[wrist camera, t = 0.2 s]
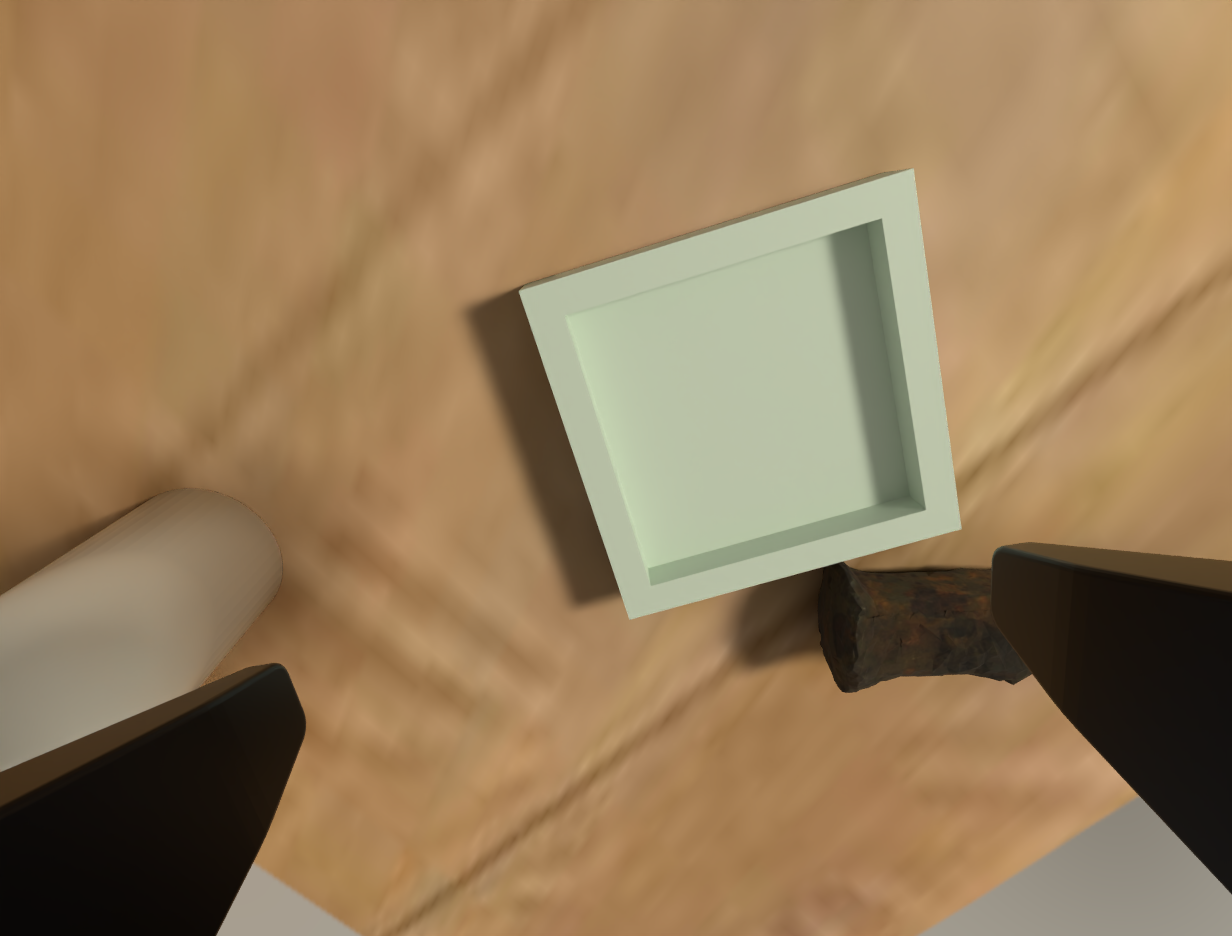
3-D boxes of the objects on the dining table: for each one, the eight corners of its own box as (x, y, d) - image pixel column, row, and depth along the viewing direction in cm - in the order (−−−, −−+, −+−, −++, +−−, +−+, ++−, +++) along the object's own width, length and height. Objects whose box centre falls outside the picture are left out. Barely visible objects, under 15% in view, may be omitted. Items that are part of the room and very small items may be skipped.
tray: (525, 284, 21) (518, 291, 19) (883, 172, 20) (913, 168, 18) (626, 588, 25) (629, 619, 23) (932, 504, 24) (961, 528, 22)
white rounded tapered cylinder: (96, 512, 23) (-420, 822, 11) (239, 469, 23) (-139, 742, 11) (174, 639, 25) (-202, 1020, 13) (308, 601, 24) (46, 958, 13)
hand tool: (802, 639, 26) (844, 726, 22) (816, 543, 25) (865, 616, 20) (1283, 643, 27) (1417, 727, 23) (1324, 551, 25) (1475, 622, 21)
